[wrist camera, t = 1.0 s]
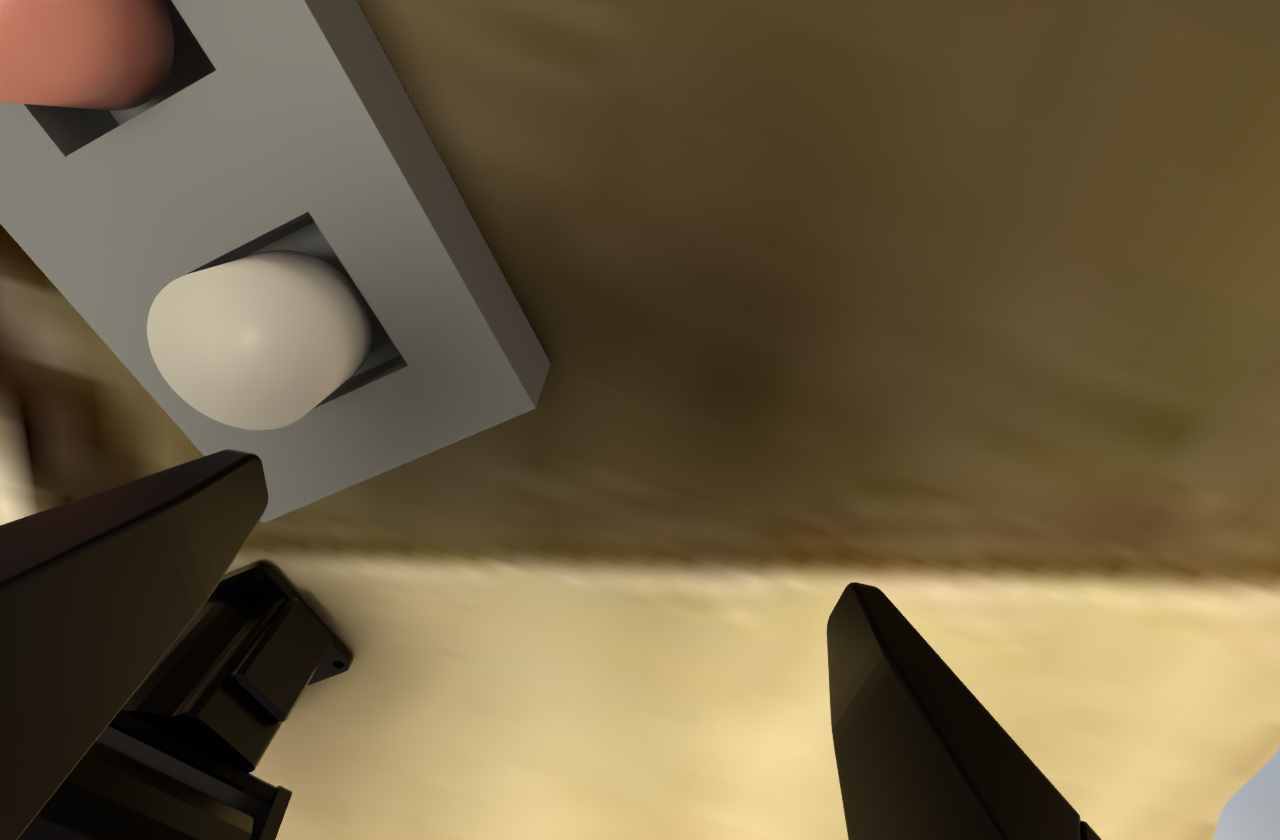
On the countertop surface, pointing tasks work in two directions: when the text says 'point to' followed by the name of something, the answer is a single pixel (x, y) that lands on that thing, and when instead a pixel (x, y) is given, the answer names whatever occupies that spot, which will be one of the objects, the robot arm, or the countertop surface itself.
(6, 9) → the button red middle
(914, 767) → the robot arm
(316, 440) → the button panel
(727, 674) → the countertop surface
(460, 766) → the countertop surface
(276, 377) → the button pale
